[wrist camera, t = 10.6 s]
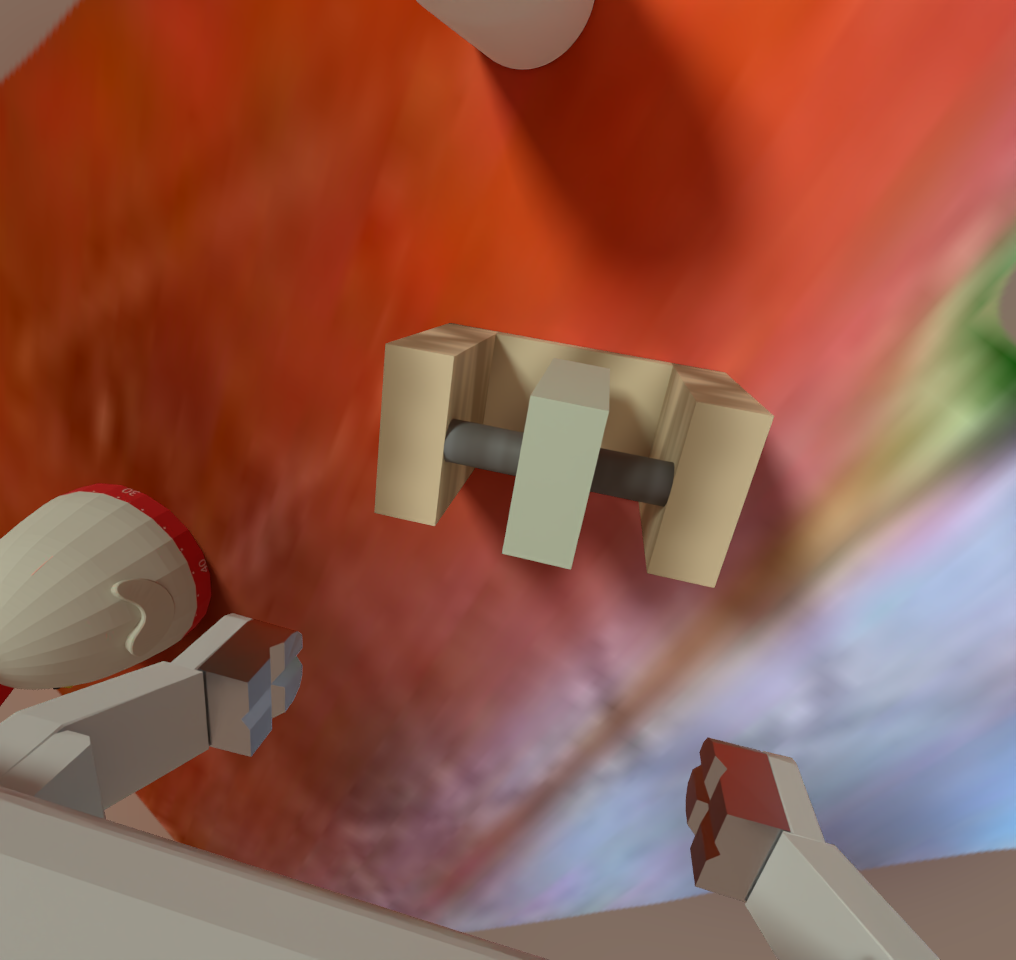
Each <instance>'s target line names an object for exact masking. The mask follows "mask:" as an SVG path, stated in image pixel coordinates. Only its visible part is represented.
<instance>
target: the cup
mask: <svg viewBox="0 0 1016 960" xmlns="http://www.w3.org/2000/svg"><path fill="white" fill-rule="evenodd" d="M416 1H417V2H418V3H419V4H420V5H422V6H423V7H424V8H426V9H427V10H428V11H429V12H431V13H432V14H433V15H434V16H436V17H437V18H438V19H439V20H441V21H442V22H443V23H445V24H446V25H447V26H449V27H450V28H451V29H452V30H454V31H455V32H456V33H458V34H459V35H460V36H461V37H463V38H464V39H465V40H467V41H468V42H469V43H470V44H472V45H473V46H474V47H476V48H477V49H478V50H479V51H481V52H482V53H483V54H485V55H486V56H487V57H489V58H490V59H491V60H493V61H494V62H496V63H498V64H500V65H502V66H505V67H508V68H512V69H521V70H525V69H533V68H538V67H541V66H544V65H546V64H548V63H550V62H552V61H554V60H555V59H557V58H558V57H560V56H561V55H562V54H563V53H565V52H566V51H567V50H568V49H569V48H570V47H571V46H572V45H573V43H574V42H575V41H576V40H577V38H578V37H579V35H580V34H581V32H582V31H583V29H584V27H585V25H586V23H587V21H588V19H589V16H590V14H591V11H592V8H593V4H594V1H595V0H416Z"/></svg>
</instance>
